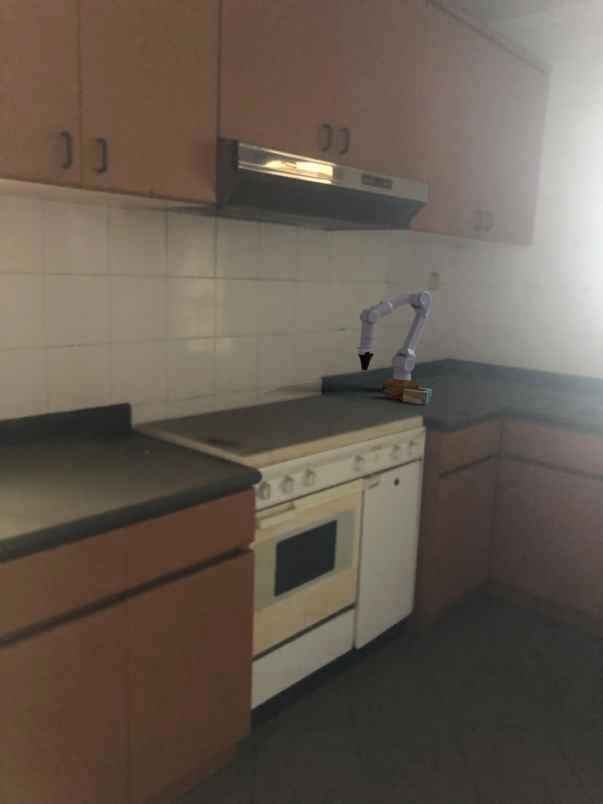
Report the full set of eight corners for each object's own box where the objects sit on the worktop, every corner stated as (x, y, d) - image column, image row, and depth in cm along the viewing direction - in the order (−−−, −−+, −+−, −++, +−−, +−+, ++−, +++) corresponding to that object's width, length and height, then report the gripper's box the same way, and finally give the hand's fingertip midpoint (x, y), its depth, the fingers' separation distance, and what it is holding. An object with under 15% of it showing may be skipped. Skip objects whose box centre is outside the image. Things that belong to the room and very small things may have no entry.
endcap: (408, 397, 276) (409, 386, 275) (430, 401, 273) (432, 389, 272) (402, 401, 267) (403, 389, 266) (426, 405, 264) (427, 392, 263)
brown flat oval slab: (381, 397, 273) (383, 377, 271) (382, 396, 276) (384, 376, 274) (417, 402, 269) (420, 381, 267) (418, 401, 272) (421, 380, 270)
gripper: (363, 335, 286) (360, 366, 288) (353, 338, 272) (350, 370, 275) (379, 337, 283) (376, 368, 286) (369, 340, 270) (366, 373, 273)
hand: (364, 370), depth 280 cm, fingers closed
